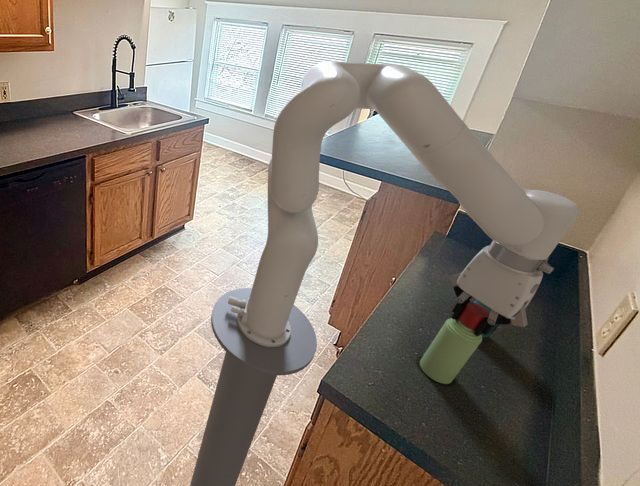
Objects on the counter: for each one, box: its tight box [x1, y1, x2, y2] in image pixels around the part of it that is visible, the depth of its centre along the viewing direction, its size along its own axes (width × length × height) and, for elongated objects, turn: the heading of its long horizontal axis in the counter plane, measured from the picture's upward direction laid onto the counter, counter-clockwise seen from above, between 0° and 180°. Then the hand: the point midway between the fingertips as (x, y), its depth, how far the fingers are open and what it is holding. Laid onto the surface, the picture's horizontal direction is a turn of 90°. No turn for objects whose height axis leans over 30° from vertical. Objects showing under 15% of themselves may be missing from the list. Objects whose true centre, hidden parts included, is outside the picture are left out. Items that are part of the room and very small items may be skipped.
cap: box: [458, 301, 490, 330], centre depth 77 cm, size 4×4×4 cm
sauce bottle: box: [419, 317, 483, 385], centre depth 81 cm, size 6×6×18 cm
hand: (468, 324), depth 78 cm, fingers closed on cap, 3 cm apart
